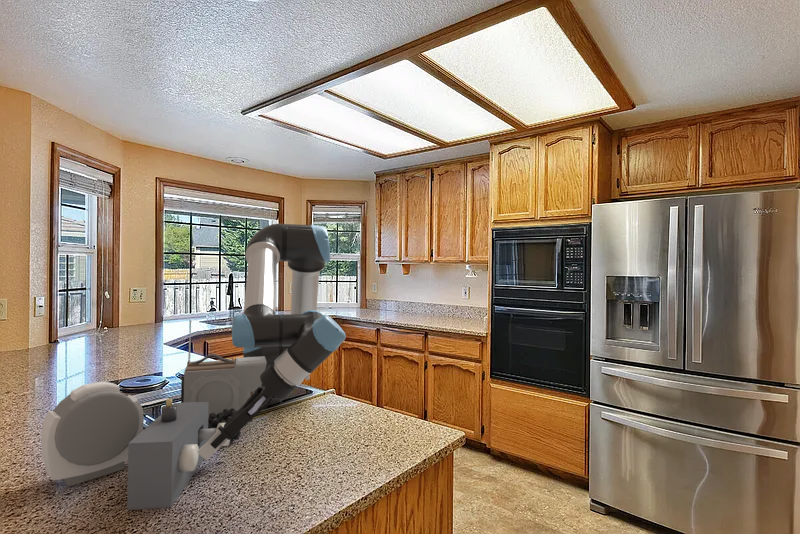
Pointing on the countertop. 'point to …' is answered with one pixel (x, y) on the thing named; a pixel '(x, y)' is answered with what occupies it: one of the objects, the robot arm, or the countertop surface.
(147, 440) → the block
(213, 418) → the fruit
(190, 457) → the knob
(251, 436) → the countertop surface
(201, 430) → the knob
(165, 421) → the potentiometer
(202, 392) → the portable television
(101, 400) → the grey rounded slab
